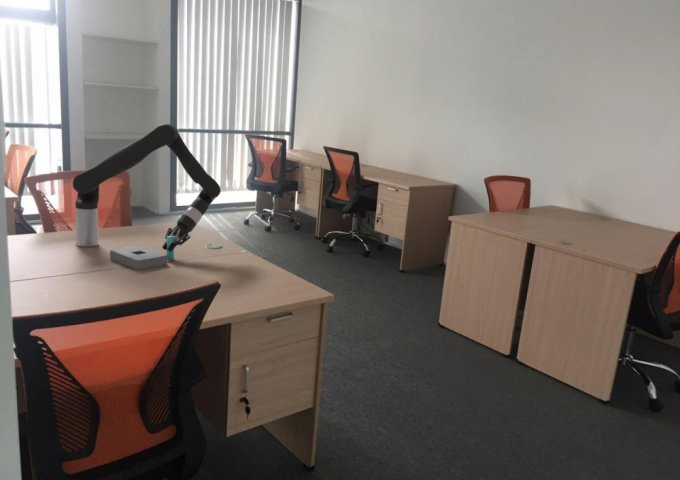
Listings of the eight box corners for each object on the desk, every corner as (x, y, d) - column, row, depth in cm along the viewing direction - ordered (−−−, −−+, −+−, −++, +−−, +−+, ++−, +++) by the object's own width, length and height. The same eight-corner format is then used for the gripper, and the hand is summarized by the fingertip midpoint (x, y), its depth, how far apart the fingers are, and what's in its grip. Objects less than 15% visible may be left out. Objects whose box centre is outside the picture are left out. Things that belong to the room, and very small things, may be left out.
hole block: (110, 259, 249) (110, 250, 248) (139, 254, 260) (139, 245, 259) (137, 270, 238) (137, 260, 237) (167, 264, 248) (167, 255, 247)
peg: (165, 258, 256) (165, 236, 254) (171, 257, 259) (171, 235, 256) (169, 260, 255) (169, 237, 252) (175, 259, 257) (175, 236, 255)
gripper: (175, 211, 262) (151, 241, 255) (195, 216, 254) (171, 248, 247) (184, 221, 267) (161, 251, 261) (204, 227, 259) (181, 258, 252)
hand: (166, 249), depth 254 cm, fingers closed on peg, 3 cm apart
